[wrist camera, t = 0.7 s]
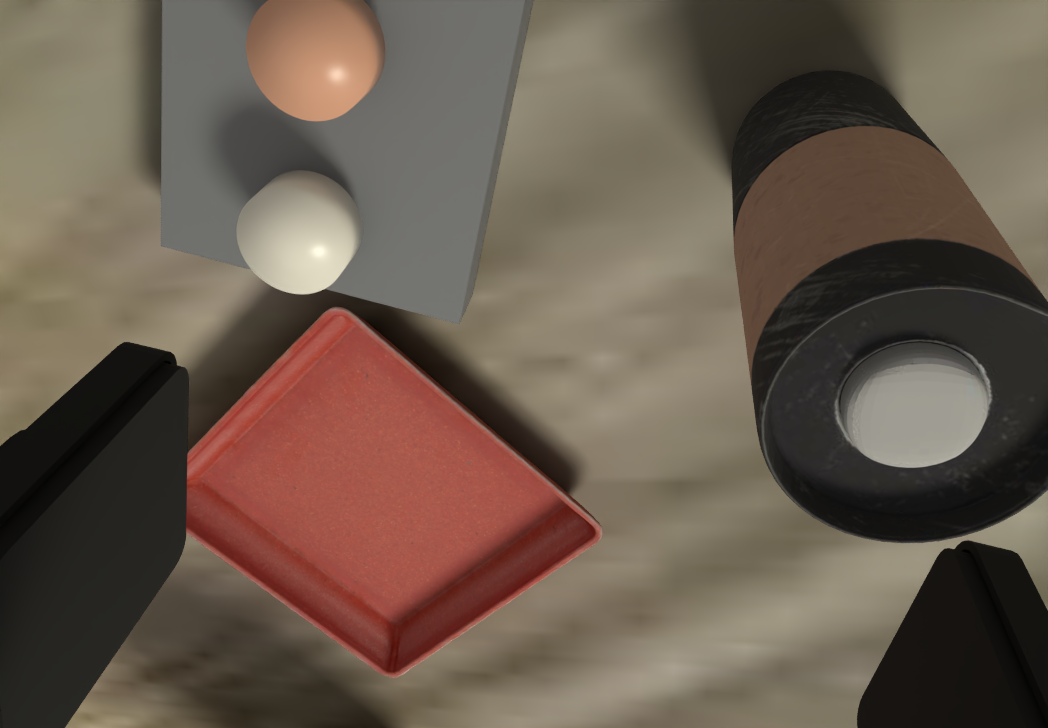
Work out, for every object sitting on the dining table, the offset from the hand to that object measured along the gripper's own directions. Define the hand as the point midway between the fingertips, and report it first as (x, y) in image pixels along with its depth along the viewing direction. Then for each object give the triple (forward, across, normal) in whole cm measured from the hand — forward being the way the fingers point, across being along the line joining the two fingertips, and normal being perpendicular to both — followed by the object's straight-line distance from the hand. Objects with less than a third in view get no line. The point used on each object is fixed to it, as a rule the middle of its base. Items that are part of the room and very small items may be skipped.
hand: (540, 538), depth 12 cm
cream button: (+28, +12, +9) cm, 32 cm away
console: (+31, +11, +1) cm, 33 cm away
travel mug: (+31, -9, +2) cm, 32 cm away
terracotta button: (+28, +11, +1) cm, 30 cm away
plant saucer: (+32, +8, +25) cm, 42 cm away
